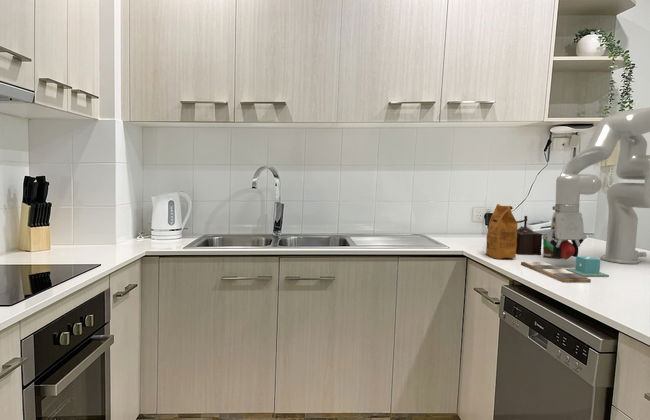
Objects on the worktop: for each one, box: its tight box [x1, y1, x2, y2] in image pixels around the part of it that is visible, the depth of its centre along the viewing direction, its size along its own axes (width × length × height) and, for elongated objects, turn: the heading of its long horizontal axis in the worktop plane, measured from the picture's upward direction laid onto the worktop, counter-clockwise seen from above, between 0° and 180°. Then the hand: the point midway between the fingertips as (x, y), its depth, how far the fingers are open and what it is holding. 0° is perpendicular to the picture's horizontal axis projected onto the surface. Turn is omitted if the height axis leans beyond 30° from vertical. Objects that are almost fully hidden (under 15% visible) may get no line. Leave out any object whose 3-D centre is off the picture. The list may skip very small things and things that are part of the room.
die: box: [574, 255, 601, 274], centre depth 136 cm, size 5×5×5 cm
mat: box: [565, 268, 610, 278], centre depth 136 cm, size 9×9×1 cm
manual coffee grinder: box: [516, 215, 543, 256], centre depth 173 cm, size 16×11×18 cm
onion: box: [559, 240, 575, 261], centre depth 146 cm, size 6×6×8 cm
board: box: [520, 261, 592, 283], centre depth 137 cm, size 9×25×1 cm, turn 2°
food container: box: [542, 233, 564, 260], centre depth 163 cm, size 12×6×10 cm, turn 118°
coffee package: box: [485, 203, 519, 260], centre depth 162 cm, size 10×12×22 cm
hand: (565, 256), depth 146 cm, fingers closed on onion, 5 cm apart
